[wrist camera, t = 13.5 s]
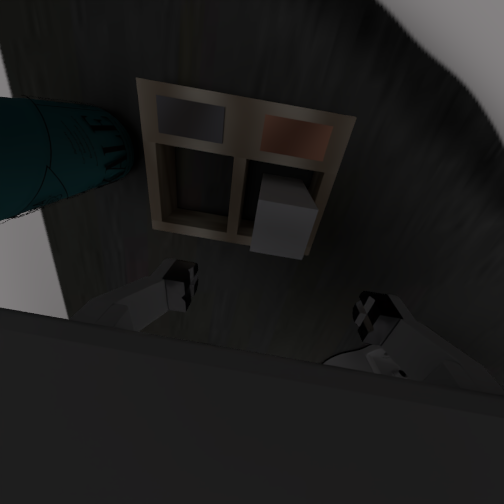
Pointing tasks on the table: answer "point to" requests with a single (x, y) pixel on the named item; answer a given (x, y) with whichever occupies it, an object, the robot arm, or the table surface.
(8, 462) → the robot arm
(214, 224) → the socket block
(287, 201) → the plug
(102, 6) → the table surface
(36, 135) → the beverage bottle
